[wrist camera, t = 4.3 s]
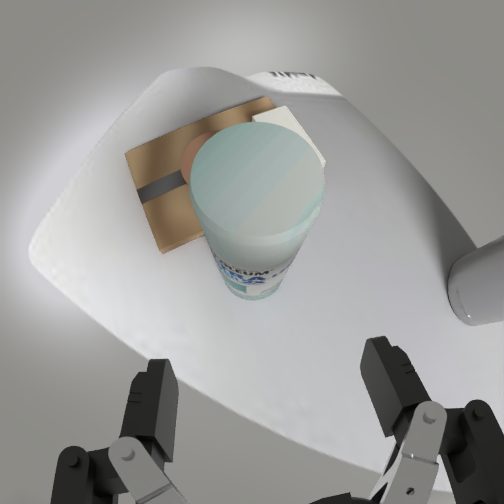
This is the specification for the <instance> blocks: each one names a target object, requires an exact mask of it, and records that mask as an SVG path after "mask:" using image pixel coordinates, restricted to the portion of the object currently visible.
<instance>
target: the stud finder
mask: <svg viewBox="0 0 504 504" xmlns="http://www.w3.org/2000/svg"><path fill="white" fill-rule="evenodd" d="M252 122H266V123H272V124H276V125H280V126H283V127H285V128H288V129H290V130H292V131H293V132H295V133H297V134H298V135H300V136H301V137H302V138H304V139H305V140H306V141H307V142H308V143H309V144H310V145H311V147H312V148H313V149H314V150H315V152H316V154H317V155H318V157H319V159H320V162H321V164H322V168H324V165H325V163H326V161H325V159H324V158H323V157H322V155H321V154H320V152H319V151H318V149H317V148H316V146H315V145H314V144H313V142H312V141H311V139H310V138H309V137H308V135H307V134H306V132H305V131H304V130H303V128H302V127H301V126H300V124H299V123H298V122H297V120H296V119H295V117H294V116H293V115H292V113H291V112H290V111H289V110H288V108H287V107H286V106H282V107H279V108H276V109H273V110H270V111H267V112H264V113H261V114H258V115H255V116H252Z"/></svg>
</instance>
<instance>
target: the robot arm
mask: <svg viewBox="0 0 504 504" xmlns="http://www.w3.org/2000/svg"><path fill="white" fill-rule="evenodd" d="M448 295H449V300H450V303H451V306H452V308H453V310H454V312H455V314H456V315H457V316H458V317H459V319H460V320H462V321H463V322H464V323H466V324H468V325H474V326H476V325H482V324H488V323H494V322H500V321H504V235H503V236H502V237H500V238H498V239H496V240H494V241H492V242H490V243H488V244H486V245H485V246H483V247H481V248H478V249H476V250H474V251H472V252H471V253H469V254H467V255H465V256H463V257H461V258H459V259H458V260H457V261H456V262H455V263H454V265H453V267H452V269H451V271H450V274H449V279H448ZM360 370H361V375H362V378H363V380H364V383H365V385H366V388H367V390H368V393H369V396H370V398H371V401H372V403H373V406H374V408H375V411H376V414H377V416H378V419H379V422H380V424H381V427H382V430H383V432H384V435H385V438H386V437H389V436H393V435H394V437H395V439H396V441H395V443H394V446H393V448H392V451H391V453H390V456H389V458H388V461H387V463H386V465H385V468H384V470H383V472H382V475H381V477H380V479H379V481H378V482H377V484H376V486H375V487H374V489H373V491H372V493H371V495H370V497H369V499H364V498H357V497H351V495H350V492H349V493H345V494H340V495H336V496H331V497H326V498H322V499H320V500H317V501H315V502H312V503H310V504H427V502H428V499H429V497H430V494H431V491H432V488H433V485H434V482H435V479H436V476H437V472H438V468H439V464H438V463H436V460H437V456H438V455H439V454H440V455H441V458H442V460H443V463H444V466H445V469H446V472H447V475H448V478H449V481H450V485H451V488H452V491H453V494H454V498H455V501H456V504H504V434H503V432H502V430H501V428H500V426H499V424H498V422H497V420H496V418H495V416H494V414H493V412H492V410H491V408H490V406H489V405H488V404H487V403H486V402H484V401H482V400H472V401H470V402H469V403H468V404H467V405H466V406H465V408H452V409H446V408H444V407H443V406H442V405H440V404H439V403H437V402H434V401H432V400H431V399H430V397H429V395H428V393H427V391H426V390H425V388H424V386H423V384H422V382H421V380H420V378H419V376H418V374H417V372H415V369H414V367H413V365H411V361H410V360H409V358H408V356H407V354H406V353H405V352H404V351H403V350H402V349H400V348H399V347H398V346H393V347H391V345H390V343H389V341H388V339H387V338H386V337H385V336H380V337H375V338H369V339H367V340H366V343H365V347H364V351H363V355H362V359H361V364H360ZM178 395H179V393H178V383H177V380H176V377H175V374H174V372H173V369H172V366H171V363H170V361H169V359H150V360H149V363H148V367H147V372H138V374H137V375H136V377H135V378H134V379H133V381H132V384H131V387H130V394H129V396H128V403H127V405H126V410H125V414H124V419H123V424H122V429H121V433H120V436H119V438H118V439H117V440H115V441H114V442H113V443H112V444H111V446H110V447H108V448H105V449H100V450H94V451H89V452H86V451H85V450H84V449H83V448H81V447H78V446H70V447H67V448H65V449H64V450H63V451H62V452H61V454H60V455H59V458H58V462H57V467H56V473H55V479H54V484H53V490H52V497H51V504H118V494H121V493H127V492H130V494H131V495H132V497H133V498H134V500H135V502H136V504H190V503H189V502H188V501H187V500H186V499H185V498H184V497H183V495H182V494H181V493H180V492H179V490H178V489H177V488H176V487H175V486H174V484H173V483H172V482H171V480H170V479H169V478H168V477H167V475H166V474H165V473H164V463H165V462H173V450H174V438H175V427H176V415H177V404H178Z"/></svg>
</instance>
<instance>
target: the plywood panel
mask: <svg viewBox="0 0 504 504" xmlns="http://www.w3.org/2000/svg"><path fill="white" fill-rule="evenodd" d="M273 109H276V107H275V105H274V104H273V103H272V101H271V100H270V99H269V98H268V96H267V97H264V98H261V99H258V100H255V101H252V102H249V103H246V104H243V105H240V106H237V107H234V108H231V109H228V110H226V111H223V112H220V113H217V114H215V115H212V116H209V117H207V118H204V119H202V120H199V121H197V122H194V123H192V124H189V125H187V126H184V127H182V128H179V129H177V130H175V131H172V132H170V133H168V134H165V135H163V136H161V137H159V138H156V139H154V140H152V141H150V142H148V143H146V144H143V145H141V146H139V147H137V148H135V149H133V150H131V151H129V152H127V153H125V156H126V159H127V162H128V165H129V168H130V171H131V174H132V177H133V180H134V183H135V186H136V189H137V192H138V195H139V198H140V201H141V203H142V206H143V209H144V211H145V214H146V217H147V219H148V222H149V225H150V227H151V230H152V233H153V235H154V238H155V240H156V243H157V246H158V248H159V250H160V251H161V253H162V254H164V253H166V252H168V251H170V250H172V249H175V248H177V247H179V246H181V245H183V244H185V243H187V242H189V241H192V240H194V239H196V238H198V237H200V236H202V235H204V232H203V229H202V227H201V225H200V222H199V220H198V218H197V215H196V213H195V210H194V208H193V205H192V202H191V199H190V194H189V180H190V174H191V169H192V165H193V162H194V159H195V157H196V155H197V153H198V151H199V150H200V148H201V147H202V146H203V145H204V144H205V142H206V141H208V140H209V139H210V138H211V137H212V136H213V135H215V134H216V133H218V132H220V131H221V130H223V129H225V128H228V127H230V126H233V125H236V124H240V123H246V122H252V116H255V115H258V114H261V113H264V112H267V111H270V110H273Z"/></svg>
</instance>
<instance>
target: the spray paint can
mask: <svg viewBox="0 0 504 504" xmlns="http://www.w3.org/2000/svg"><path fill="white" fill-rule="evenodd" d="M189 194H190V199H191V202H192V205H193V208H194V210H195V213H196V215H197V218H198V220H199V222H200V225H201V227H202V229H203V232H204V234H205V237H206V239H207V241H208V244H209V246H210V248H211V251H212V253H213V255H214V258H215V260H216V262H217V265H218V267H219V269H220V272H221V274H222V276H223V278H224V281H225V283H226V285H227V287H228V288H229V289H230V290H231V292H233V293H234V294H235V295H236V296H238V297H240V298H243V299H246V300H260V299H263V298H266V297H268V296H270V295H271V294H272V293H273V292H275V291H276V289H277V288H278V287H279V285H280V283H281V281H282V280H283V278H284V276H285V274H286V272H287V271H288V269H289V267H290V265H291V263H292V262H293V260H294V258H295V256H296V254H297V252H298V251H299V249H300V247H301V245H302V243H303V241H304V239H305V238H306V236H307V234H308V232H309V230H310V228H311V226H312V225H313V223H314V221H315V219H316V217H317V215H318V213H319V211H320V209H321V207H322V204H323V200H324V194H325V182H324V172H323V168H322V164H321V162H320V159H319V157H318V155H317V154H316V152H315V150H314V149H313V148H312V147H311V145H310V144H309V143H308V142H307V141H306V140H305V139H304V138H302V137H301V136H300V135H298V134H297V133H295V132H293V131H292V130H290V129H288V128H285V127H283V126H280V125H276V124H272V123H266V122H246V123H240V124H236V125H233V126H230V127H228V128H225V129H223V130H221V131H220V132H218V133H216V134H215V135H213V136H212V137H211V138H210V139H209V140H208V141H206V142H205V144H204V145H203V146H202V147H201V148H200V150H199V151H198V153H197V155H196V157H195V159H194V162H193V165H192V169H191V174H190V180H189Z"/></svg>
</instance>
